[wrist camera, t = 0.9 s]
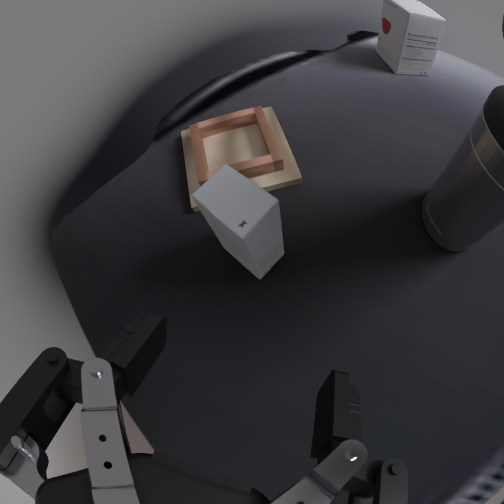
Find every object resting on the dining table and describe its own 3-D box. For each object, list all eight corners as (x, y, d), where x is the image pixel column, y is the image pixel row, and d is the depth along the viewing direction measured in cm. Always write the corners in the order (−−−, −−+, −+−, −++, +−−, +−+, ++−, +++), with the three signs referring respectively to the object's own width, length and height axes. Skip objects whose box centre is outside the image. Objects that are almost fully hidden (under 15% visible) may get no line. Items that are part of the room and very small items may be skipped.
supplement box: (374, 51, 44) (382, -7, 30) (408, 53, 43) (419, 0, 29) (395, 75, 41) (408, 11, 27) (429, 76, 40) (447, 20, 26)
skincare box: (285, 253, 32) (282, 200, 21) (260, 281, 31) (242, 241, 20) (247, 221, 34) (225, 161, 23) (222, 247, 33) (188, 195, 22)
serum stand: (271, 111, 40) (270, 95, 37) (301, 182, 35) (302, 167, 32) (183, 136, 40) (176, 121, 37) (194, 212, 35) (185, 199, 32)
